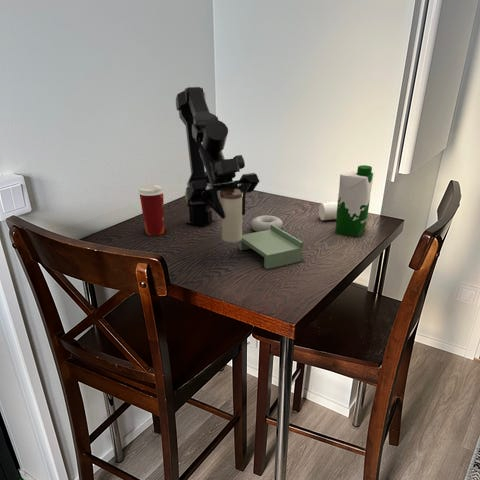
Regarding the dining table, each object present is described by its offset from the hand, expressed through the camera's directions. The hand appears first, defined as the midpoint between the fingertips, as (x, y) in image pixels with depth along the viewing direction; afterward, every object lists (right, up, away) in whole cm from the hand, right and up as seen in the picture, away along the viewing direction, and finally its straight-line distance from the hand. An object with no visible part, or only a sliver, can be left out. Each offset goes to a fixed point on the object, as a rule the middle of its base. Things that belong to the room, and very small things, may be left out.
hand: (233, 216), depth 125 cm
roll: (+34, +7, +37) cm, 51 cm away
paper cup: (-25, +1, +27) cm, 37 cm away
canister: (-1, -5, +4) cm, 7 cm away
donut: (+10, +2, +29) cm, 30 cm away
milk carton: (+36, +1, +27) cm, 45 cm away
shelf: (+10, -8, +11) cm, 17 cm away
